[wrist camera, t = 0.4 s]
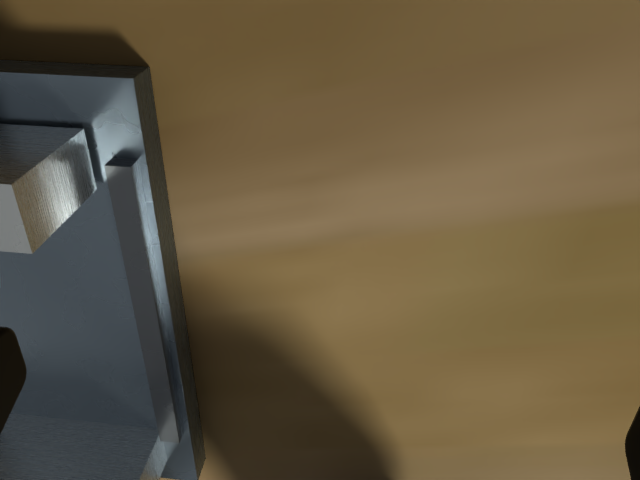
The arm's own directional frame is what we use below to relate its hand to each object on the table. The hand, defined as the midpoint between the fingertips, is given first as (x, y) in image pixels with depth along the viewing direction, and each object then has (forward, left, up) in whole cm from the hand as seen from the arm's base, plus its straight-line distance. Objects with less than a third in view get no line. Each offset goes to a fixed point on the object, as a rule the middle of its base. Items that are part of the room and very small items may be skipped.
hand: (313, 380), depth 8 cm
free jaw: (0, +14, -13) cm, 19 cm away
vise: (-11, +14, -14) cm, 23 cm away
